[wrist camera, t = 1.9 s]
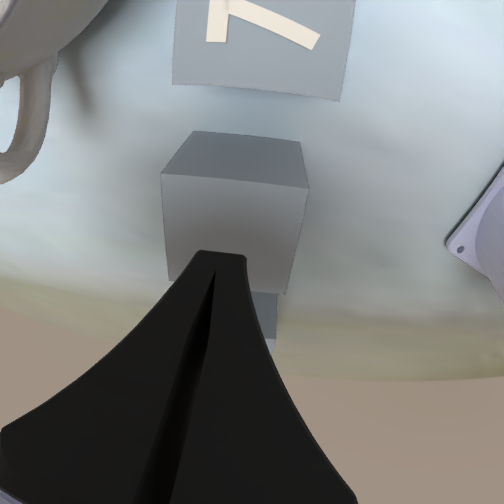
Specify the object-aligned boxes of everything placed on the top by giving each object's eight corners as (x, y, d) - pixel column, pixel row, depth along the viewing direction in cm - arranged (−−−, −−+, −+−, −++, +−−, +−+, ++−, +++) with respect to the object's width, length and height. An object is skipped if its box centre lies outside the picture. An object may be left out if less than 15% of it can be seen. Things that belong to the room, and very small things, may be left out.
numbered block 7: (332, -20, 8) (362, -48, 5) (318, 80, 11) (340, 102, 7) (214, -31, 8) (182, -64, 5) (205, 68, 11) (170, 85, 7)
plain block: (299, 141, 13) (309, 189, 9) (284, 228, 16) (285, 294, 12) (194, 130, 13) (160, 173, 9) (193, 217, 16) (169, 280, 12)
